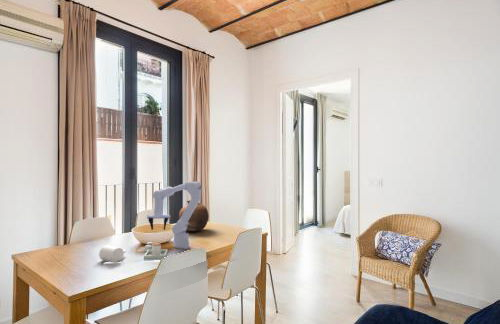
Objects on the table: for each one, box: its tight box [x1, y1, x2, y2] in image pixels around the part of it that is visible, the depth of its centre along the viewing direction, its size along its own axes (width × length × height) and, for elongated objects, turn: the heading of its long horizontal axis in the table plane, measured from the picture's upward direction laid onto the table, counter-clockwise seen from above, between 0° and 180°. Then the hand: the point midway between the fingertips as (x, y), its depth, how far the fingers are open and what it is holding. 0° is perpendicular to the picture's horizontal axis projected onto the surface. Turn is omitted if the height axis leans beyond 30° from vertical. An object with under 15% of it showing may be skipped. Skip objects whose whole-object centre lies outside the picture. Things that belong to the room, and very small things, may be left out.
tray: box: [143, 248, 169, 260], centre depth 171 cm, size 12×12×2 cm
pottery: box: [178, 199, 210, 232], centre depth 234 cm, size 23×23×25 cm
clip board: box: [135, 241, 163, 253], centre depth 182 cm, size 14×10×4 cm
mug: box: [98, 244, 126, 264], centre depth 164 cm, size 12×10×8 cm
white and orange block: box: [151, 242, 162, 255], centre depth 171 cm, size 4×4×7 cm
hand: (158, 229), depth 193 cm, fingers open, 7 cm apart
